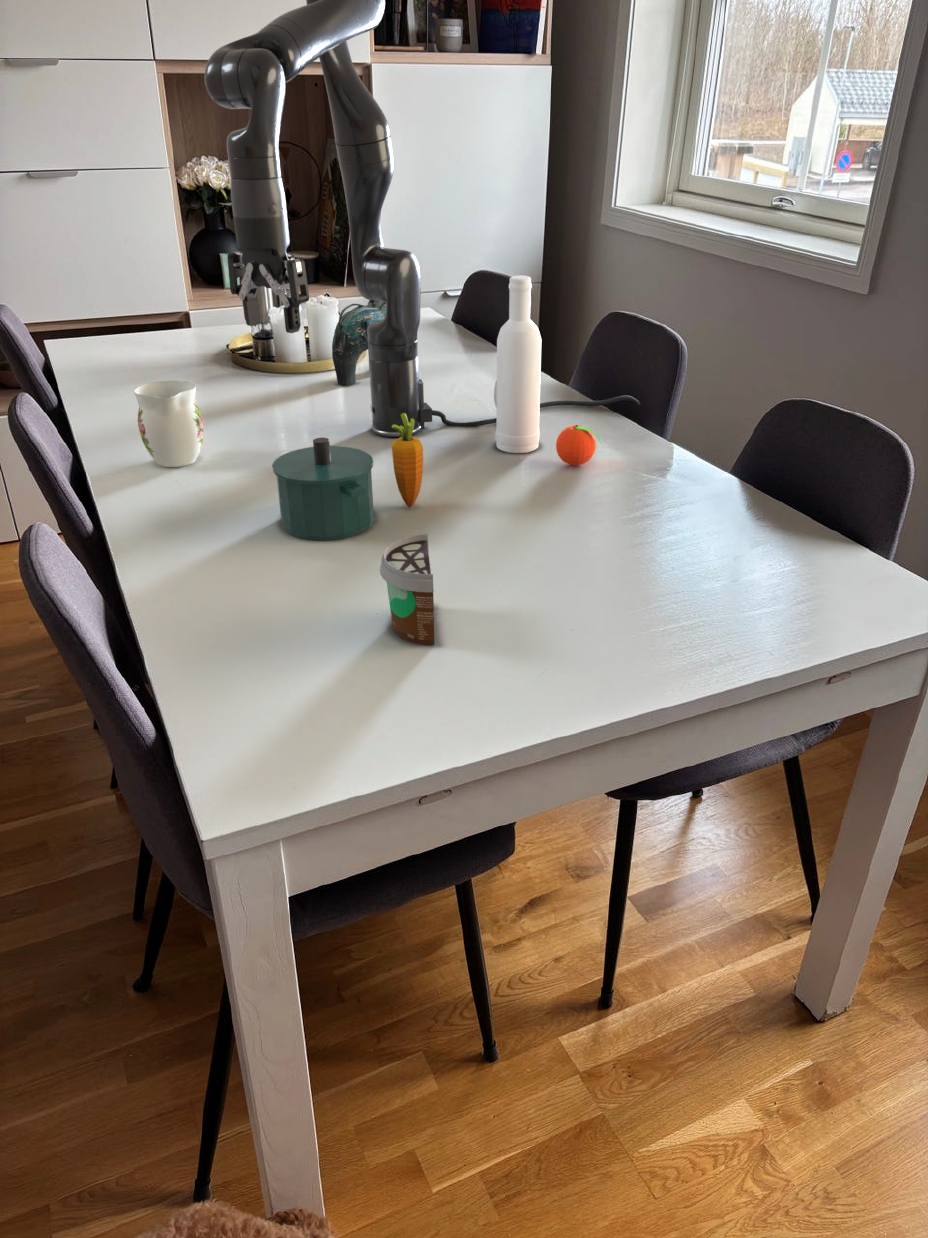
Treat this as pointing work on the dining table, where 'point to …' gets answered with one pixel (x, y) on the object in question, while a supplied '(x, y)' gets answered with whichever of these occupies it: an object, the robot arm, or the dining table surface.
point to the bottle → (518, 373)
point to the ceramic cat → (353, 338)
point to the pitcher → (170, 422)
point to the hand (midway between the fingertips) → (272, 328)
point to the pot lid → (322, 464)
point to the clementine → (576, 445)
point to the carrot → (407, 461)
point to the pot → (326, 508)
